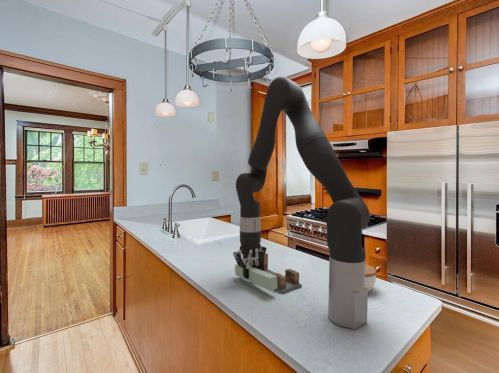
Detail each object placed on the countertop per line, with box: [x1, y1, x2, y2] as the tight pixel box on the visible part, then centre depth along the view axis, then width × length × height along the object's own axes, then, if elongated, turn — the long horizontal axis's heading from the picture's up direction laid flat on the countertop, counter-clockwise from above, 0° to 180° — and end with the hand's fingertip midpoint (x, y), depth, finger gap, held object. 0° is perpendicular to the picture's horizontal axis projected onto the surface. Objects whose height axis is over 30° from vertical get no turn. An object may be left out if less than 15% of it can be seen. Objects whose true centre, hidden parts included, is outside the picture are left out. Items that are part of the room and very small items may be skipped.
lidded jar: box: [365, 263, 377, 292], centre depth 91 cm, size 11×11×9 cm
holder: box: [241, 252, 303, 295], centre depth 100 cm, size 24×9×8 cm, turn 37°
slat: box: [234, 263, 277, 292], centre depth 93 cm, size 20×3×4 cm, turn 37°
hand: (250, 276), depth 95 cm, fingers closed on slat, 3 cm apart
